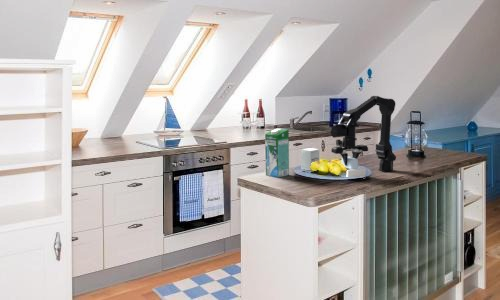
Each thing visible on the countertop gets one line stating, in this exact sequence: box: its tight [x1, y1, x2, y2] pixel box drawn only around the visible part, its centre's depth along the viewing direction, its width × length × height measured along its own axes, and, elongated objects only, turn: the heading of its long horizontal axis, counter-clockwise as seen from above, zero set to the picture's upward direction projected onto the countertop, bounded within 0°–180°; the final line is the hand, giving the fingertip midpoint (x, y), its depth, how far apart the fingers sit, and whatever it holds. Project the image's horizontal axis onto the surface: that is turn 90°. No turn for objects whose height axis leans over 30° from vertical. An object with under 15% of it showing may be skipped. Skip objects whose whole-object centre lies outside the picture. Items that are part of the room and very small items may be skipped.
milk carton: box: [264, 127, 290, 178], centre depth 260 cm, size 9×9×25 cm
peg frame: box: [344, 167, 366, 180], centre depth 255 cm, size 15×10×5 cm, turn 17°
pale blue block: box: [341, 155, 359, 169], centre depth 254 cm, size 10×4×5 cm, turn 18°
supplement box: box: [300, 147, 320, 170], centre depth 268 cm, size 7×7×13 cm
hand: (349, 165), depth 254 cm, fingers closed on pale blue block, 4 cm apart
